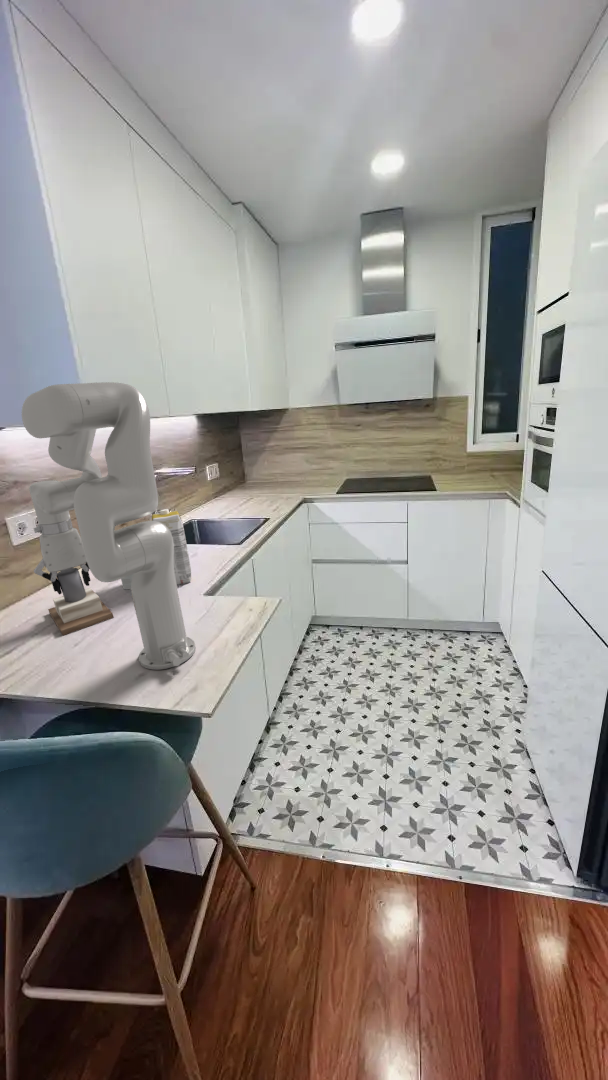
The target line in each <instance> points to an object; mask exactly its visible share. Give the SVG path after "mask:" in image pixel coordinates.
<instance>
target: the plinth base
mask: <svg viewBox="0 0 608 1080" xmlns="http://www.w3.org/2000/svg"><path fill="white" fill-rule="evenodd" d="M84 589H85V592H86V597H85V598H83V599H82V600H79V601H77V602H72V603H67V602H66V601H65V599H64V596H63V595H61V596H59V597H55V598H53V599H52V601H53V603H54V606H53V607H50V608H48V609H47V610H48V613H49V615H50V617H51V618H52V621H53V622H54V623H55V625H56V626H57V629H58V630H59V632H60V634H61V636H65V635H68V634H72V633H75V632H77V631H81V630H82V629H86V628H88V627H91V626H95V625H97V624H99V623H103V622H105V621H109V620H111V619H114V614H113V612H112V611H111V610H110V608H108V606H106V604H105V603H104V602H103V601H102V600H101V598H100V596H99V595H98V594H97V593H96V592H95V591H94V589H92V588H91V587H87V588H84Z"/></svg>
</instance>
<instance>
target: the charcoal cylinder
mask: <svg viewBox="0 0 608 1080" xmlns="http://www.w3.org/2000/svg"><path fill="white" fill-rule="evenodd" d="M56 578H57V580H58V581H59V585H60V588H61V592H62V593H61V594H62V596H64V599H65V601H66V602H67V603H72V602H77V601H79V600H82V599H83V598H85V597H86V592H85V589H86V588H85V586H84V582H83V579H82V577H81V575H80V571H79V568H78V567H73V568H70V569H66V570H62V571H59V572H57V576H56Z"/></svg>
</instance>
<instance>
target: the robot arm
mask: <svg viewBox="0 0 608 1080" xmlns="http://www.w3.org/2000/svg"><path fill="white" fill-rule="evenodd" d="M149 410H150V409H149V405H148V404H147V401H146V399H145V398H144V396H143V394H142V393H141V392H140V391H139V389H137V388H136V387H134V386H132V385H130V384H127V383H124V382H123V383H122V382H113V381H111V382H110V381H109V382H108V381H107V382H106V381H103V382H84V383H83V382H81V383H80V382H79V383H62V384H53V385H48V386H46V387H43V388H42V389H40V390H38V391H35V392H33V393H31V394H29V395H28V396H27V397H26V398H25V400H24V401H23V404H22V406H21V421H22V424H23V426H24V428H25V430H26V431H27V433H28V434H29V435H30V436H32V437H33V438H36V439H47V438H49V444H48V450H47V452H48V455H49V457H50V459H51V460H52V461H53V462H54V463H56V464H57V465H59V466H61V467H64V468H67V469H70V470H75V471H79V472H82V474H81V476H79V477H77V478H71V479H66V480H62V481H61V480H60V481H59V480H53V479H51V480H41V481H37V482H34V483H31V485H29V488H28V490H29V495H30V498H31V502H32V505H33V508H34V512H35V515H36V517H37V522H38V525H37V526H36V527H33V532H34V533H35V534H36V533H40V535H39V546H40V552H41V556H42V558H41V560H40V561H39V562H38V564H37V565H36V566H35V568H34V569H33V572H34V574H35V575H37V576H39V577H41V578H44V579H45V580H48V581H50V582H51V584H52V585H51V586H52V589H53V591H54V592H55V593H56V592H57V594H58V595H62V594H63V593H62V590H61V588H60V585H59V581H58V579H57V573H58V572H60V571H62V570H66V569H70V568H78V567H80V568H81V572H80V573H81V576H82V577H81V578H82V582H83V585H85V586H86V587H89V586H90V582H91V577H90V573H91V574H92V575H93V576H94V578H95V579H96V580H98V581H99V582H102V583H112V582H116V581H119V580H121V579H122V578H125V577H127V576H129V575H132V574H133V578H132V582H131V589H130V591H131V597H132V603H133V606H134V612H135V615H136V618H137V619H136V620H137V624H138V628H139V629H138V630H139V632H140V636H141V642H142V644H143V648H142V650H141V651H140V652H139V655H138V662H139V664H140V666H142V668H145V669H149V670H165V669H169V668H170V669H171V668H173V667H178V666H180V665H181V664H183V663H184V662H186V661H188V660H189V659H190V658H191V657H192V656H193V655H194V654H195V652H196V643H195V641H194V640H193V638H191V637H188V636H187V633H186V628H185V627H186V626H185V621H184V617H183V612H182V607H181V606H182V605H181V601H180V597H179V596H180V595H179V589H178V585H177V584H176V578H175V572H174V543H173V537H172V534H171V532H170V530H169V529H168V528H167V527H166V526H165V525H164V524H162V523H160V522H157V521H152V520H147V521H146V520H145V521H140V522H138V523H134V524H131V525H128V526H124V527H121V528H119V529H115V528H116V526H119V525H122V524H123V525H124V524H126V523H129V522H132V521H137V520H138V519H141V518H142V519H143V518H144V517H146V516H150V515H151V514H152V515H153V514H154V513H155V512H156V510H157V509H158V507H159V506H158V505H159V495H158V487H157V481H156V476H155V469H154V464H153V458H152V457H153V456H152V453H151V443H150V442H151V414H150V411H149ZM105 428H113V429H112V431H111V432H110V434H109V436H108V438H107V441H106V444H105V448H104V458H105V461H106V465H107V466H106V467H107V475H106V476H104V477H103V475H102V472H101V468H100V466H99V464H98V463H97V461H96V460H95V458H93V456H92V455H91V453H92V449H93V445H94V440H95V436H96V431H97V430H98V429H105ZM73 510H74V514H75V518H76V522H77V526H78V529H77V528H75V527H73V522H72V518H71V515H70V511H73ZM44 567H45V568H46V570H47V571H48V572H49V573H48V572H46V571H44V570H43V569H44ZM89 572H90V573H89Z"/></svg>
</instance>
